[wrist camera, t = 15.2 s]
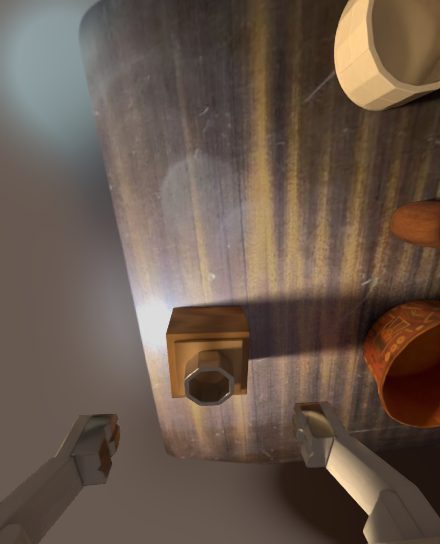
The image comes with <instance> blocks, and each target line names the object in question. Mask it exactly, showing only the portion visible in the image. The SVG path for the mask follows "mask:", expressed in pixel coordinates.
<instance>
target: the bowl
mask: <svg viewBox="0 0 440 544" xmlns="http://www.w3.org/2000/svg"><path fill="white" fill-rule="evenodd" d="M363 354H364V359H365V362H366V364H367V366H368V368H369V370H370V371H371V373H372V375H373V376H374V378H375V380H376V383H377V386H378V391H379V396H380V400H381V403H382V406H383V408H384V409H385V411H386V413H387V414H388V415H389V416H390V417H391V418H393V419H394V420H396V421H398V422H400V423H402V424H405V425H408V426H413V427H422V428H431V427H438V426H440V301H439V300H433V299H420V300H414V301H409V302H406V303H403V304H400V305H398V306H396V307H394V308H393V309H391V310H389V311H388V312H386V313H385V314H384V315H382V316H381V317H380V318H379V319H378V320H377V321H376V322H375V323H374V324H373V326H372V327H371V329H370V330H369V331H368V333H367V336H366V338H365V340H364V346H363Z"/></svg>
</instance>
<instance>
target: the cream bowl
mask: <svg viewBox="0 0 440 544" xmlns="http://www.w3.org/2000/svg"><path fill="white" fill-rule="evenodd" d="M334 60H335V68H336V73H337V77H338V79H339V82H340V85H341V87H342V88H343V90H344V92H345V93H346V95H347V96H348V97H349V98H350V99H351V100H352V101H353V102H354V103H356V104H357V105H358V106H361V107H363V108H365V109H369V110H375V111H382V110H388V109H392V108H395V107H399V106H401V105H404V104H406V103H408V102H410V101H413V100H415V99H417V98H419V97H421V96H424V95H426V94H428V93H430V92H433V91H435V90H437V89H439V88H440V0H349V1H348V3H347V5H346V7H345V9H344V11H343V13H342V16H341V19H340V22H339V25H338V29H337V33H336V38H335V48H334Z"/></svg>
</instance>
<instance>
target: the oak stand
mask: <svg viewBox="0 0 440 544" xmlns="http://www.w3.org/2000/svg"><path fill="white" fill-rule="evenodd" d="M238 338H242V339H243V348H242V371H241V392H237V393H233V395H241V394H247V376H248V359H249V341H250V330H249V327H248V324H247V321H246V318H245V314H244V311H243V308H242V306H231V307H195V308H173V311H172V315H171V318H170V322H169V325H168V329H167V332H166V341H167V351H168V362H169V372H170V383H171V393H172V398H182V397H186V396H185V395H178V389H177V377H176V365H175V353H174V341H183V340H211V339H238Z"/></svg>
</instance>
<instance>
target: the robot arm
mask: <svg viewBox="0 0 440 544" xmlns="http://www.w3.org/2000/svg"><path fill="white" fill-rule="evenodd" d="M294 410H295V414H294V415H293V417H292V427H293V431H294V435H295V437H296V440H297V441H299V442H300V443H301V449H300V451H301V453H302V456H303V458H304V461H305V464H306V466H307V467H326V468H327V469H328V470H329V472H330V473H331V474H332V475H333V476H334V477H335V478H336V479H337V480H338V482H339V483H340V484H341V485H342V486H343V487H344V488H345V489H346V490H347V492H348V493H349V494H350V495H351V496H352V497H353V498H354V499H355V500H356V501H357V503H358V504H359V505H360V506H361V507H362V508H363V509H364V510H365V511H366V513H367V514H368V515H369V518H368V520H367V522H366V525H365V527H364V531H363V532H364V535H365V537H366V539H367V541H368V543H369V544H440V518H439V517H438V515H437V514H436V512H435V511H434V510H433V508H432V507H431V506H430V504H429V503H428V501H427V500H426V499H425V497H424V496H423V494H422V493H421V492H420V491H419V489H418V488H417V486H415V485H414V484H413V483H412V482H410V481H409V480H408V479H406V478H405V477H404V476H403V475H401V474H400V473H399V472H397V471H396V470H395V469H394V468H392V467H391V466H390V465H389V464H387V463H386V462H385V461H383V460H382V459H381V458H380V457H378V456H377V455H376V454H375V453H373V452H372V451H371V450H369V449H368V448H367V447H366V446H364V445H363V444H362V443H360V442H359V441H358V440H357V439H355V438H354V437H350V436H349V434H348V433H347V431H346V430H345V428H344V426H343V425H342V423H341V421H340V420H339V418H338V416H337V415H336V413H335V411H334V410H333V408H332V406H331V405H330V403H329V402H327V401H324V402H305V403H296V404H295V406H294ZM117 420H118V418H117V414H101V415H80V416H79V417H78V418H77V419H76V420H75V422H74V424H73V426H72V427H71V429H70V431H69V433H68V435H67V436H66V438H65V440H64V442H63V444H62V446H61V447H60V449H59V451H58V453H57V455H56V456H55V458H50V459H49V460H48V461H47V462H46V463H45V464H43V465H42V466H41V467H40V468H39V469H38V470H37V471H35V472H34V473H33V474H32V475H31V476H30V477H29V478H27V480H25V481H24V482H23V483H22V484H21V485H20V486H18V487H17V488H16V489H15V490H14V491H13V492H11V493H10V494H9V495H8V496H7V497H6V498H5V499H3V501H1V502H0V544H38V543H39V542H40V541H41V539H42V538H43V537H44V536H45V535H46V533H47V532H48V531H49V530H50V528H51V527H52V526H53V525H54V523H55V522H56V521H57V520H58V518H59V517H60V516H61V515H62V513H63V512H64V511H65V510H66V508H67V507H68V506H69V505H70V503H71V502H72V501H73V500H74V499H75V497H76V496H77V495H78V493H79V492H80V491H81V490H82V488H83V486H88V485H97V484H105V483H106V481H107V478H108V475H109V472H110V469H111V466H112V461H111V457H112V456H113V455H114V454H115V452H116V451H117V448H118V445H119V439H120V427H119V426H118V425H117V424H116V423H117Z"/></svg>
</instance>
